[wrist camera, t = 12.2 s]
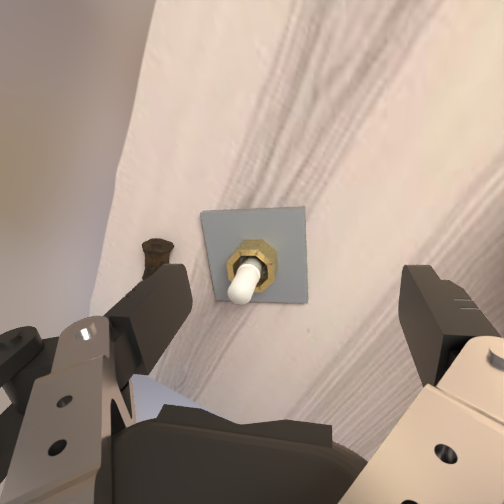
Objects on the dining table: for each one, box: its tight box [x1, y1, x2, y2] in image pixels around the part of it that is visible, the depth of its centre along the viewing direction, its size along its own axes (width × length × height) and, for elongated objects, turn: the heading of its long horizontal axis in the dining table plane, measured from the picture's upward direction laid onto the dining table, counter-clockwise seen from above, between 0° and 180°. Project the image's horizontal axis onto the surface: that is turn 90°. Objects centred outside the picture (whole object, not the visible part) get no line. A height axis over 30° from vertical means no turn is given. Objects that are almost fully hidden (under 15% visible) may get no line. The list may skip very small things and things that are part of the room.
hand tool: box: [142, 238, 174, 280], centre depth 47 cm, size 19×4×5 cm, turn 165°
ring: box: [226, 239, 278, 292], centre depth 40 cm, size 6×6×4 cm
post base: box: [200, 207, 308, 305], centre depth 38 cm, size 14×14×10 cm
